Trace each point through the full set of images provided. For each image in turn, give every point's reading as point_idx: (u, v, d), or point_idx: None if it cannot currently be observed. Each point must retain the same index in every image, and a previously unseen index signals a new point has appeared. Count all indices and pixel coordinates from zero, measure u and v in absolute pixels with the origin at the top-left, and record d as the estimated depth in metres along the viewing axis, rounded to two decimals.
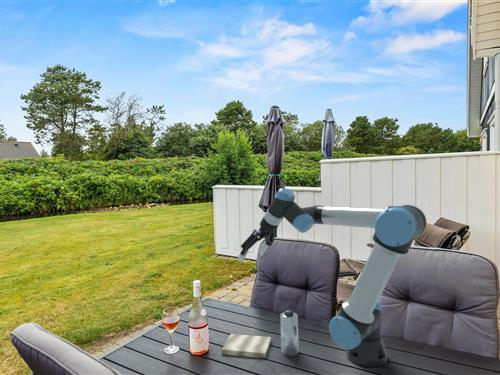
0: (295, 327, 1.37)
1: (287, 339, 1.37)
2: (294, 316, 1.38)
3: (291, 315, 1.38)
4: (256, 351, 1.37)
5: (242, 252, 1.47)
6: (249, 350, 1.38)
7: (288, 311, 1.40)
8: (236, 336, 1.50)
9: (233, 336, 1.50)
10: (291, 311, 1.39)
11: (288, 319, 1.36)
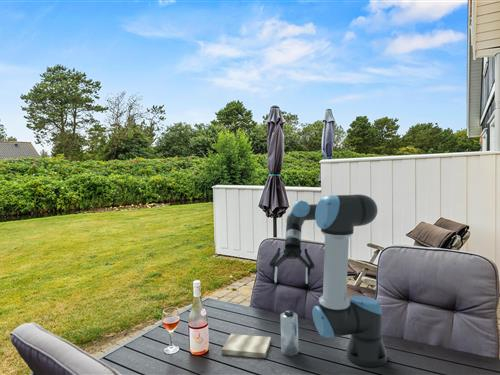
0: (295, 327, 1.37)
1: (287, 339, 1.37)
2: (294, 316, 1.38)
3: (291, 315, 1.38)
4: (256, 351, 1.37)
5: None
6: (249, 350, 1.38)
7: (288, 311, 1.40)
8: (236, 336, 1.50)
9: (233, 336, 1.50)
10: (291, 311, 1.39)
11: (288, 319, 1.36)
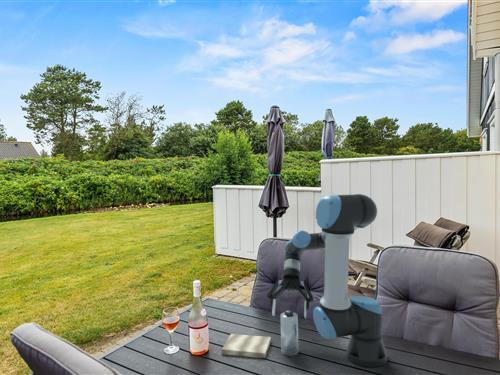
0: (295, 327, 1.37)
1: (287, 339, 1.37)
2: (294, 316, 1.38)
3: (291, 315, 1.38)
4: (256, 351, 1.37)
5: None
6: (249, 350, 1.38)
7: (288, 311, 1.40)
8: (236, 336, 1.50)
9: (233, 336, 1.50)
10: (291, 311, 1.39)
11: (288, 319, 1.36)
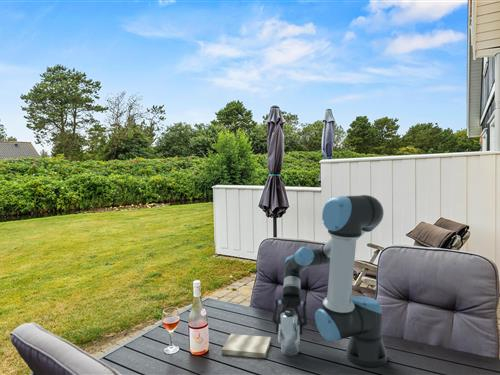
0: (295, 327, 1.37)
1: (287, 339, 1.37)
2: (294, 316, 1.38)
3: (291, 315, 1.38)
4: (256, 351, 1.37)
5: (276, 329, 1.41)
6: (249, 350, 1.38)
7: (288, 311, 1.40)
8: (236, 336, 1.50)
9: (233, 336, 1.50)
10: (291, 311, 1.39)
11: (288, 319, 1.36)
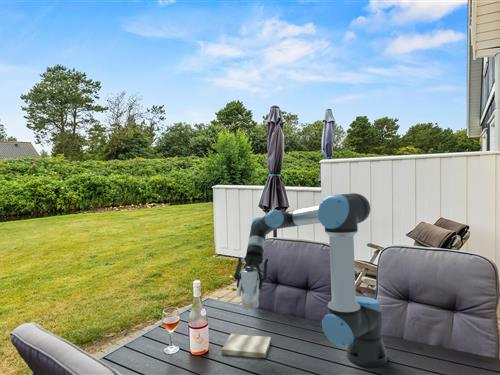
0: (254, 281, 1.41)
1: (246, 293, 1.41)
2: (254, 271, 1.42)
3: (251, 270, 1.42)
4: (256, 351, 1.37)
5: None
6: (249, 350, 1.38)
7: (248, 266, 1.43)
8: (236, 336, 1.50)
9: (233, 336, 1.50)
10: (251, 266, 1.43)
11: (247, 273, 1.40)
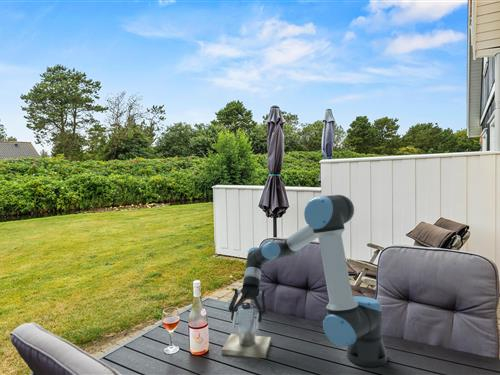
0: (251, 319, 1.41)
1: (243, 331, 1.41)
2: (251, 308, 1.42)
3: (248, 307, 1.42)
4: (256, 351, 1.37)
5: None
6: (249, 350, 1.38)
7: (245, 304, 1.44)
8: (236, 336, 1.50)
9: (233, 336, 1.50)
10: (248, 304, 1.44)
11: (244, 311, 1.40)
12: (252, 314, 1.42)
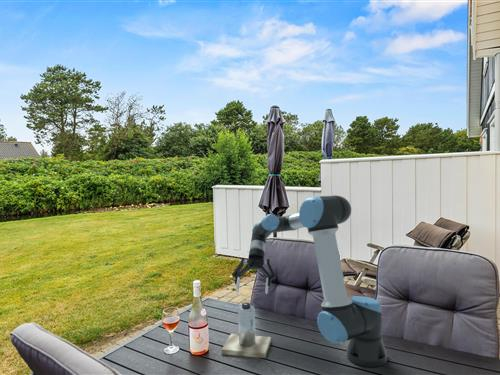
0: (251, 319, 1.41)
1: (243, 331, 1.41)
2: (251, 308, 1.42)
3: (248, 307, 1.42)
4: (256, 351, 1.37)
5: None
6: (249, 350, 1.38)
7: (245, 304, 1.43)
8: (236, 336, 1.50)
9: (233, 336, 1.50)
10: (248, 304, 1.43)
11: (244, 311, 1.40)
12: (252, 314, 1.42)
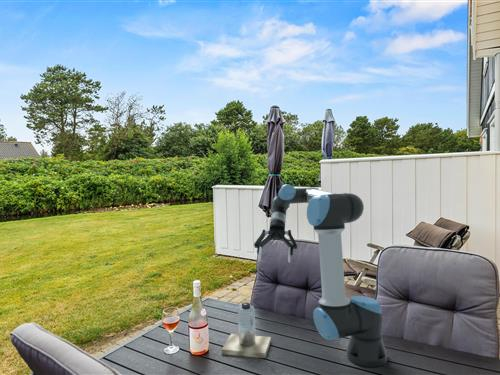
0: (251, 319, 1.41)
1: (243, 331, 1.41)
2: (251, 308, 1.42)
3: (248, 307, 1.42)
4: (256, 351, 1.37)
5: (257, 251, 1.60)
6: (249, 350, 1.38)
7: (245, 304, 1.43)
8: (236, 336, 1.50)
9: (233, 336, 1.50)
10: (248, 304, 1.43)
11: (244, 311, 1.40)
12: (252, 314, 1.41)
